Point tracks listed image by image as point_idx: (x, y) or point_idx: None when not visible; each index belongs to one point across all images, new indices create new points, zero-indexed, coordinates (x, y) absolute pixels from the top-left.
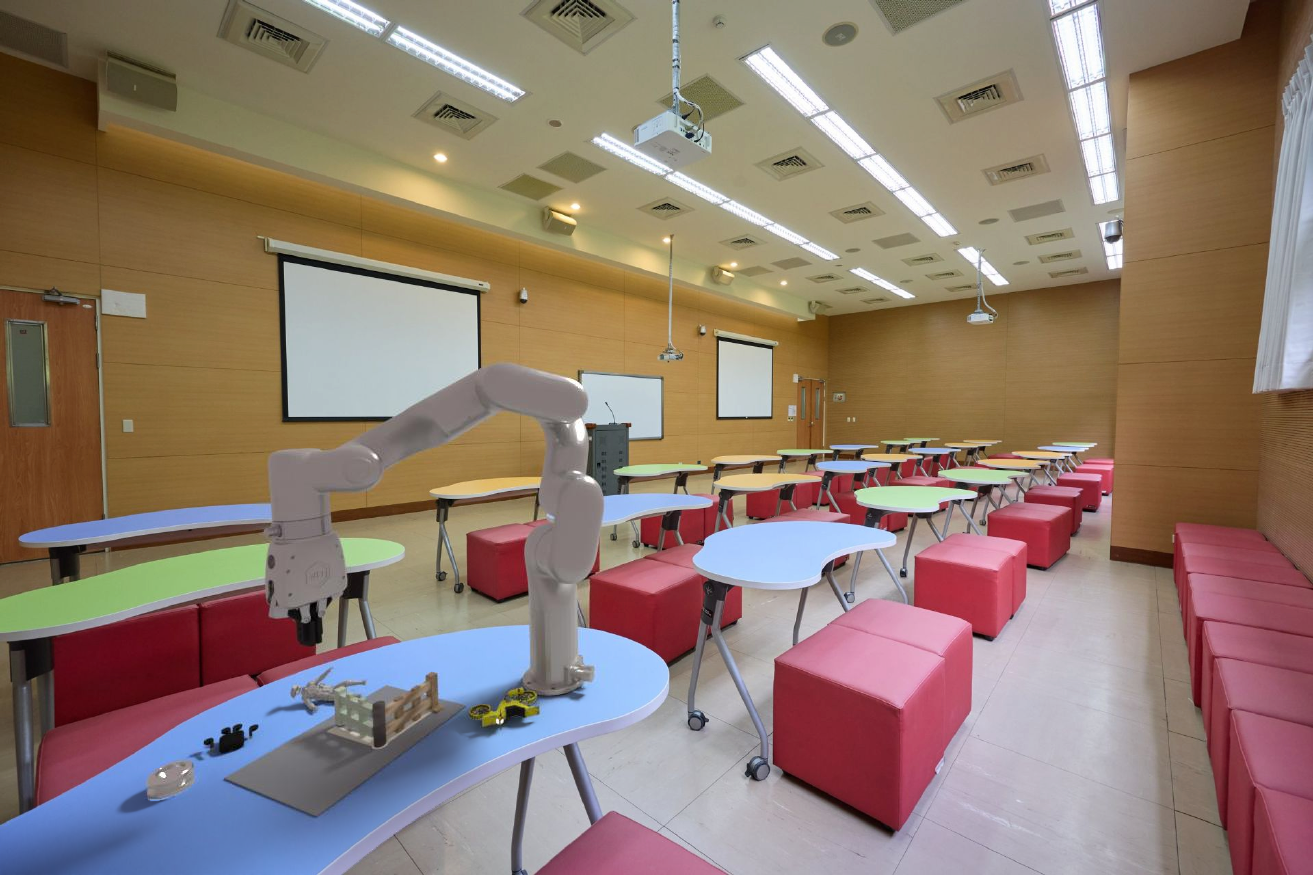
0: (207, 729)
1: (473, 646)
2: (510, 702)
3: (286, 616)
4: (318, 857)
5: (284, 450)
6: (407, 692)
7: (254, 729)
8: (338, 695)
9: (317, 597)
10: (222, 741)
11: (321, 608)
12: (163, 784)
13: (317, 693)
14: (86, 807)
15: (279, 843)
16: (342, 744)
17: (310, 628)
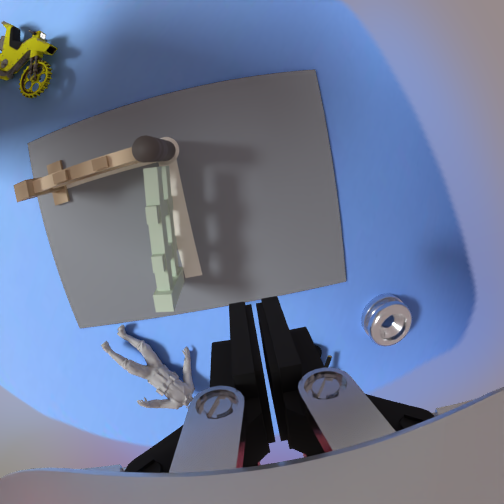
0: None
1: None
2: (6, 57)
3: (440, 410)
4: (341, 10)
5: None
6: (76, 177)
7: None
8: (172, 291)
9: (319, 482)
10: None
11: (217, 430)
12: (405, 305)
13: (173, 379)
14: (425, 347)
15: (361, 70)
16: (203, 211)
17: (293, 344)
